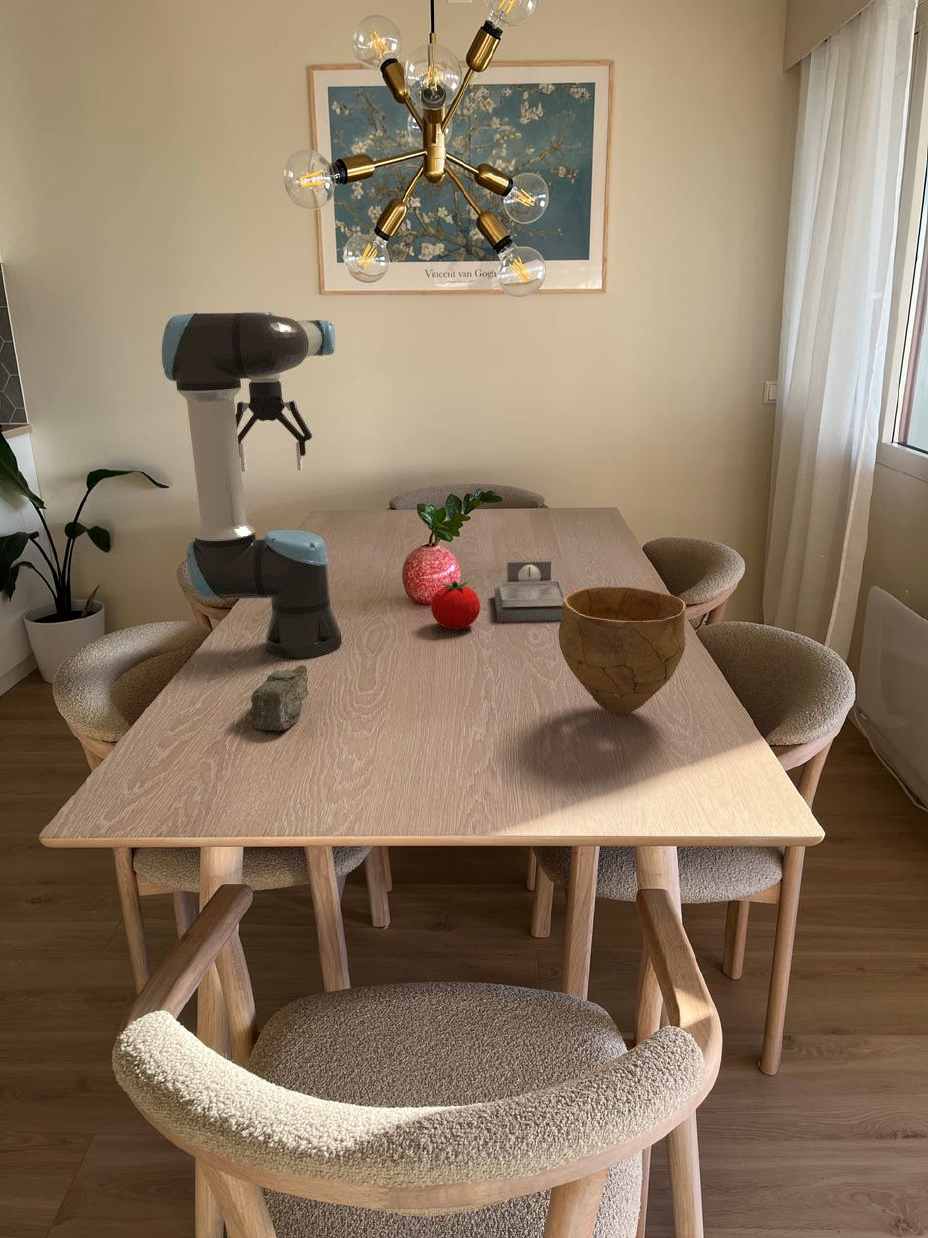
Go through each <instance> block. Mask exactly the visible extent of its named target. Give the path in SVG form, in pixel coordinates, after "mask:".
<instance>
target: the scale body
mask: <svg viewBox="0 0 928 1238" xmlns="http://www.w3.org/2000/svg"><path fill="white" fill-rule="evenodd" d="M547 580H552V561H551V558H533V559H531V558H529V559H527V558H526V559H506V581H547ZM562 587H563V589H564V592H565V594H566V595H567V592H566V591H565V588H564V585H563V584H562ZM493 589H494V590H493V594H494V595H493V598H494V605H495V612H496V618H497V622H498V623H499V622H500V623H501V622H503V623H505V622H538V621H539V622H542V621H544V622H545V621H561V618H562V609H563V606H526V607H502V603H501V597H500V591H499V586H494V587H493Z"/></svg>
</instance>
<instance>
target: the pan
mask: <svg viewBox="0 0 928 1238" xmlns="http://www.w3.org/2000/svg"><path fill="white" fill-rule="evenodd" d="M562 585H563V584H562V581H561V580H560V579H556V580H555V579H554V580H553V579H551V580H547V581H507V580H506V581H498V587H499V591H500V597H501V603H502V607H526V606H563V598H565V596H566V595H567V593H566V591H565V592H564V590H565V588H564V586H563V587H562ZM563 588H564V589H563ZM565 593H566V594H565Z"/></svg>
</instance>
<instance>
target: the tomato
mask: <svg viewBox="0 0 928 1238" xmlns="http://www.w3.org/2000/svg"><path fill="white" fill-rule="evenodd" d="M468 583H469V581H467V582H464V583H461V584H458V582H457V581H456V579H454V580H452V582H451V584H446V583H441V582H440V585H442V586H444V587H441V588H439V589H438V590H437V591H436V592H435V594H434V595H433V596H432V600H431V603H430V604H431V605H430V608H431V613H432V616H433V618H434V620H435V621H436V622H437V623H439V624H440V625H442V627H444V628H448V629H452V630H459V629H464V628H467V627H469V626H470V625H472V624H473V623H474V622H475V621H476V620H477V618H478V616H479V615H480V611H481V601H480V599H479V596H478V595H477V593H476V591H475V590H473V588H469V587H467V586H465V585H467V584H468Z"/></svg>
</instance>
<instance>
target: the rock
mask: <svg viewBox="0 0 928 1238" xmlns="http://www.w3.org/2000/svg"><path fill="white" fill-rule="evenodd" d="M308 679H309V678H308V669H307V666H306V665H304V664H300V665H299V666H297V667H296V668H294V669H289V668H288V669H285V670H276V671H274V672H271V674H269V675H268V676H267V677H266V680H264V681H263V682H262V684H261V685H260V686H259V687H257V688H255V689H254V691H253V692H252V694H251V697H250V698H251V699H250V702H251V713H250V714H249V715H248V720H249V722H250V723H251V725H252V727H254V728H255V729H258V730H262V731H264V730H265V731H274V732H275V731H277V732H281V731H285V730H287V729H289V728H290V727H291V726H292V725H294V724H295V723H296V722H298V721H299V719H300V717H301V710H302V706H303V703H302V701H303V700H304V699H306V697H307V696H309V690H308V682H309V681H308Z"/></svg>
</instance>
